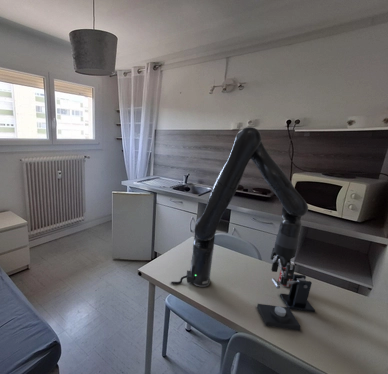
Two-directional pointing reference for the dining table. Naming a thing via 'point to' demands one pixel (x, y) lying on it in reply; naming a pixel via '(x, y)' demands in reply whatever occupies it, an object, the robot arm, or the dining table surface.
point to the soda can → (281, 276)
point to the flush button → (280, 311)
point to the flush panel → (278, 317)
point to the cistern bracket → (298, 295)
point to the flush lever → (287, 282)
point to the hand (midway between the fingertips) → (278, 277)
